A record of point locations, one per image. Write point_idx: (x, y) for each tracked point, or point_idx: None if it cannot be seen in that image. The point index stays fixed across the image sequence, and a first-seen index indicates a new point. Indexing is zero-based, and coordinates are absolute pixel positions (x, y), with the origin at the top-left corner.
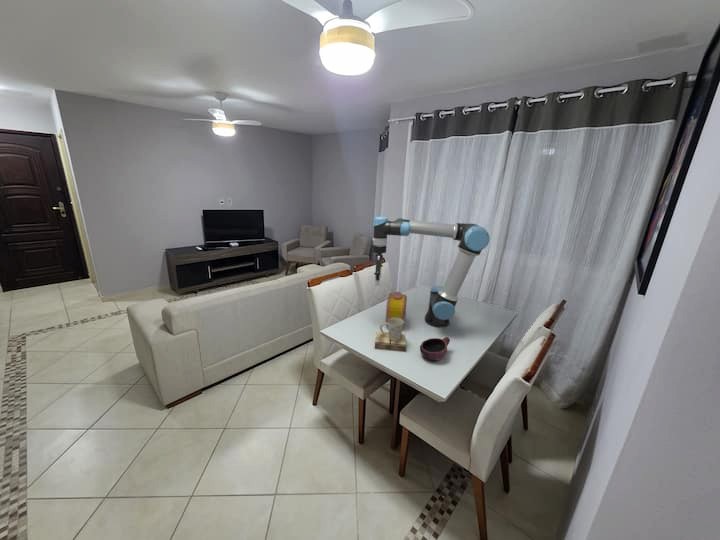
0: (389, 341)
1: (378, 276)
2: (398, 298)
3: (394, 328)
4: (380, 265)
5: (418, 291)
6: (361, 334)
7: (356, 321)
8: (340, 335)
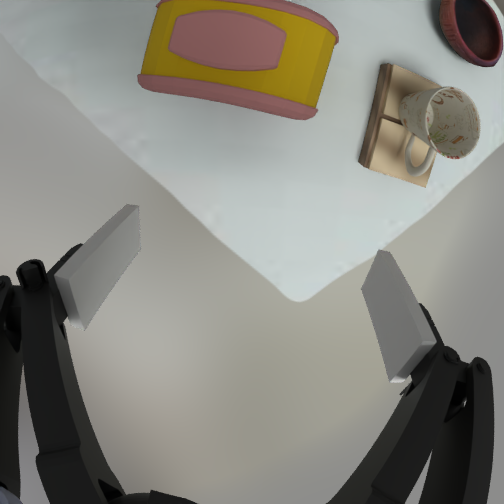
0: None
1: (439, 342)
2: (284, 41)
3: (467, 137)
4: (426, 461)
5: (5, 16)
6: (331, 208)
7: (234, 218)
8: (328, 270)
